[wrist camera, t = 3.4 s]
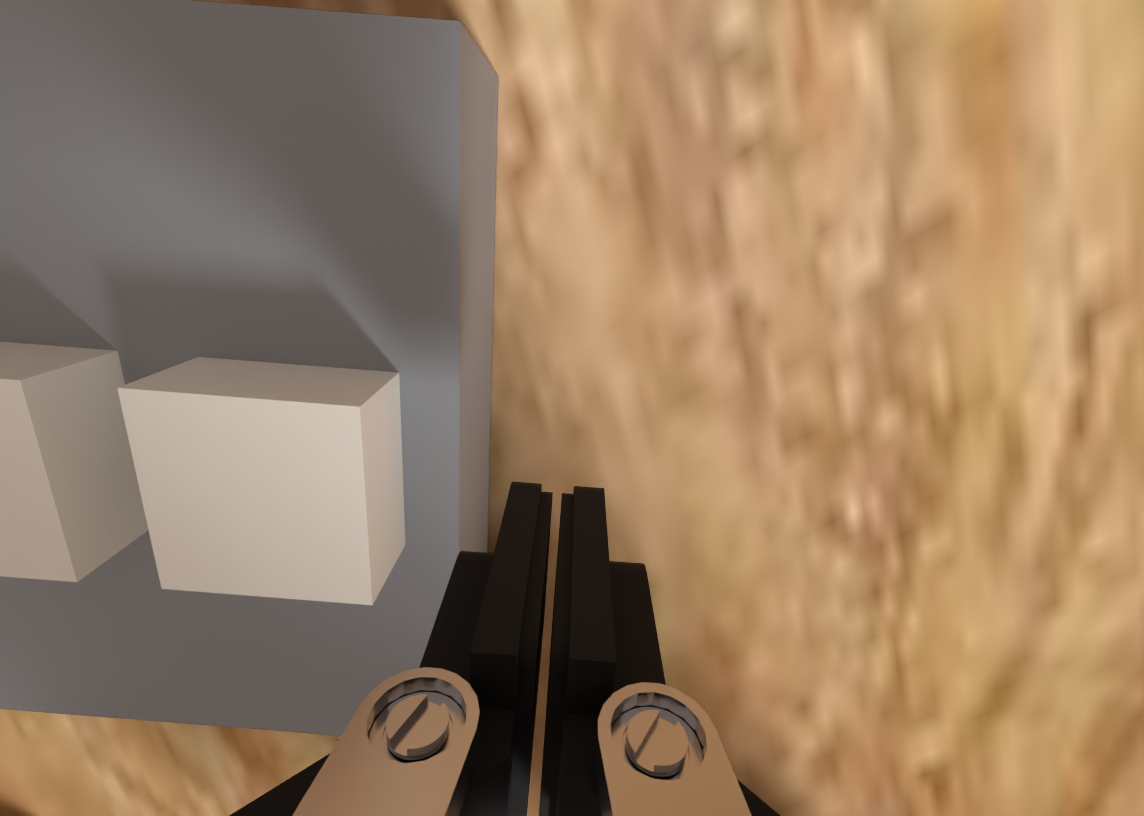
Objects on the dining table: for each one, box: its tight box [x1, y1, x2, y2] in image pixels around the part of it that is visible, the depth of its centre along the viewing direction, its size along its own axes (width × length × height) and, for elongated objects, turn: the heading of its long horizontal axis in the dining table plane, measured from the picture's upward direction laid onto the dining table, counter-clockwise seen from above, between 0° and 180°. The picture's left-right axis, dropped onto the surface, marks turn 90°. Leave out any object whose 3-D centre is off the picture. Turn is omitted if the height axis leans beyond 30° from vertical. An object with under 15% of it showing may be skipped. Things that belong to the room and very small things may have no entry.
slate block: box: [0, 0, 498, 736], centre depth 17 cm, size 16×20×5 cm
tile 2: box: [117, 357, 405, 605], centre depth 13 cm, size 5×5×2 cm
